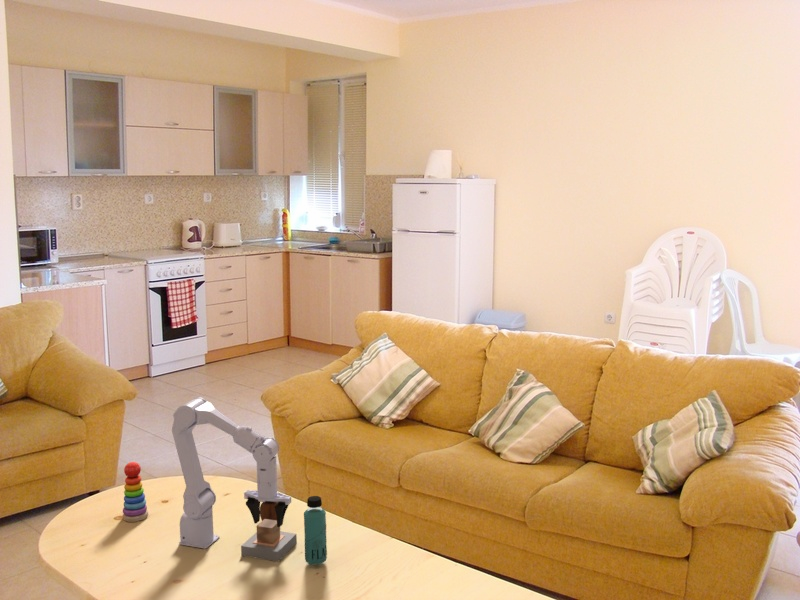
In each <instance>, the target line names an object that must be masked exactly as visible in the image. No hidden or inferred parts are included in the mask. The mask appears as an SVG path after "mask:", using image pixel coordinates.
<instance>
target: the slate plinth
mask: <svg viewBox="0 0 800 600" xmlns="http://www.w3.org/2000/svg"><path fill="white" fill-rule="evenodd" d="M297 538H298V537H297V533H293V532H289V531H281V530H280V537H279V538H278V539H277V540H276V541H275V542H274V543H273V544H267V543H261V542H257V531H256V532H255V533H254V534H252V536H250V537H249V538H248V539H247V540H246V541H245V542H244V543H242V545H240V554H241V556H242V557H247V558H255V559H258V560H259V559H260V560H267V561H272V562H278V563H279V562H280V560H281V559H283V557H284V556H286V554H287V553H288V552H289V551H290V550H291V549H293V547H294V546H295V545H297Z"/></svg>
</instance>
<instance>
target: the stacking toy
mask: <svg viewBox="0 0 800 600" xmlns="http://www.w3.org/2000/svg"><path fill="white" fill-rule="evenodd" d="M123 471H124V472H123V473H124V474H125V477H126V478H125V480H124V482H125V484H124V487H123V488H124V491H123V493H124V497H123V501H124V502H123V508H122V519H123V520H124V521H125V522H128V523H135V522H136V523H137V522H140V521H143V520H145V519H146V518H148V516H149V511H148V510H147V509H148V507H147V500H146V495H145V493H144V491H145V490H144V488H143V483H142V477H141V476H140V473H141V471H142V468H141V465H140V464H139V463H138V462H136V461H131V462H128V463H127V464H126V465H125V466H124V469H123Z"/></svg>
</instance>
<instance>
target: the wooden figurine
mask: <svg viewBox="0 0 800 600" xmlns="http://www.w3.org/2000/svg"><path fill="white" fill-rule="evenodd" d="M277 504H278V502H271V501H265V502H261V503H260V520H261V522H262V521H263V520H264V519H269V520H276V521H277V515H276V511H275V506H276V505H277Z"/></svg>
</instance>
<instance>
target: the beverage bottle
mask: <svg viewBox="0 0 800 600" xmlns="http://www.w3.org/2000/svg"><path fill="white" fill-rule="evenodd" d="M306 506H307V507H308V508H307V509H306V510H304V512H303V522H304V523H303V524H304V525H303V526H304V530H303V531H304V560H305V563H307V564H309V565H313V566H314V565H321V564H323V563H325V562H326V560H327V559H328V551H327V550H328V548H327V538H328V537H327V519H326V518H327V517H326V515H327V514H326V510H325V509H324V508H323V507H321V506H323V502H322V498H321V496H318V495H311V496H309V497H307V503H306Z"/></svg>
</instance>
